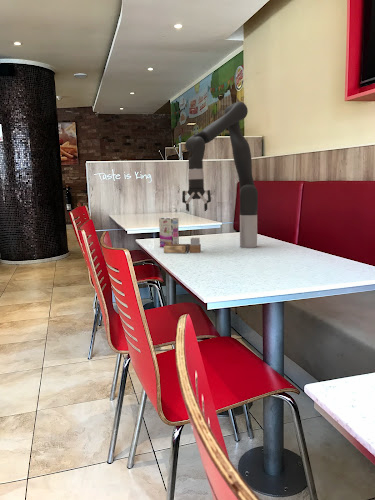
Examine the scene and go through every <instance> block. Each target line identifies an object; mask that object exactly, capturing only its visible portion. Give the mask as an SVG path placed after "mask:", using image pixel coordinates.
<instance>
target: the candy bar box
mask: <svg viewBox="0 0 375 500" xmlns="http://www.w3.org/2000/svg"><path fill="white" fill-rule="evenodd" d="M158 220H159V221H158V222H159V225H158V226H159V247H160V248H163V249H164V246H166V244H179V243H180V242H179V241H180V240H179V237H180V236H179V235H180V234H179V232H180V231H179V230H180V229H179V217H159V219H158Z"/></svg>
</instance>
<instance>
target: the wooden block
mask: <svg viewBox="0 0 375 500" xmlns="http://www.w3.org/2000/svg"><path fill="white" fill-rule="evenodd" d="M201 245H202V244H201V243H200V245H199V246H191V243H180V244H166V246H186V253H185V254H189V253H190V254H191V253H193V254H197V253H198V254H199V253H201V250H202V248H201Z"/></svg>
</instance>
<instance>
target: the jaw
mask: <svg viewBox="0 0 375 500" xmlns="http://www.w3.org/2000/svg"><path fill="white" fill-rule="evenodd" d="M163 253H165V254H167V253H170V254H171V253H175V254H176V253H182V254H187V253H186V246H164V248H163Z"/></svg>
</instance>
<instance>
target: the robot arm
mask: <svg viewBox="0 0 375 500" xmlns="http://www.w3.org/2000/svg"><path fill="white" fill-rule="evenodd" d="M248 113H249V110H248V107H247V104H246V103H244V102H242V101H237V102H234V103H232V104H230V105H227V107H226V108H225V110H224V114H223V116H221V117H219V118H218V119H216V120H214V121H212V122H211V123H209V124H208V125H207V126H205V127H204V128H203V129H202V130H200V131H199V132H197V133H195V134H194V135H192V136H190V137H189V138H187V139H186V141H185V144H184V148H185V149H186V151H187V152H190V153H192V154H191V156H190V157H189V158H188V162H187V163H188V172H187V175H188V176H187V177H188V190H182V192H181V193H182V199H181V201H182V203H183V204H185V210H186V212H187V213H188V212H190V202H191V201H192V200H202V201H203V203H204V205H203V209H204V210H203V211H204V212H207V210H208V204H209V203H211V201H212V196H211V195H212V194H211V190H210V189H207V190H205V188H204V187H205V183H204V178H205V177H204V163H203V159H204V156H205V151H206V144H208V143H209V144H210V142H212V141H213V140H214V139H216V138H217V137H218V136H219V135H221V134H222V133H223V132H224V131H226V130H228V133H229V138H230V144H231V150H232V158H233V163H234V165H235V168H236V173H237V176H238V183H239V248H247V249H248V248H249V249H251V248H253V249H254V248H257V247H258V206H259V205H258V204H259V203H258V198H259V196H258V195H259V194H258V193H259V192H258V189H257V187H256V185H255V182H254V177H253V165H252V164H253V161H252V159H253V158H252V153H251V147H250V144H249V142H248V140H247V139H246V138H245V136H244V134H243V133H242V129H241V125H240V124H241V123H240V121H243V120H245V118H246V117H247V115H248ZM187 194H188V196H189V197H188V198H187V200H186V196H187ZM204 194H205V195H207V199H206V198H205V197H204V196H205V195H204Z"/></svg>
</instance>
